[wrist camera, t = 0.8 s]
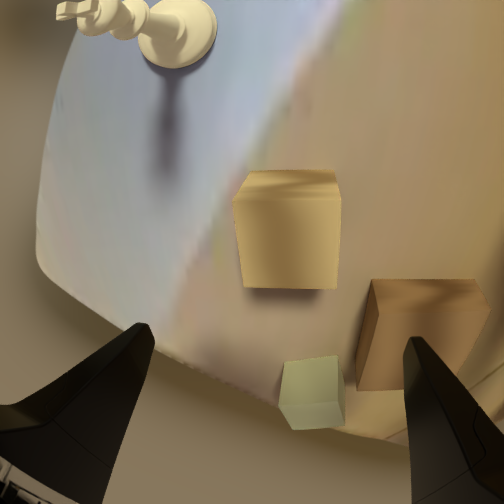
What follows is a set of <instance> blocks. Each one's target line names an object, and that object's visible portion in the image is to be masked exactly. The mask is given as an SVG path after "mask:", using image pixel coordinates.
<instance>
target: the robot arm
mask: <svg viewBox="0 0 504 504" xmlns="http://www.w3.org/2000/svg"><path fill="white" fill-rule="evenodd" d="M154 345H155V339H154V336H153V334H152V332H151V329H150V327H149V325H148V324H146V323H140V322H138V323H136V324H134V325H133V326H131V327H130V328H128V329H127V330H126V331H124V332H123V333H121V334H120V335H118V336H117V337H116V338H114V339H113V340H112V341H110V342H109V343H107V344H106V345H104V346H103V347H101V348H100V349H99V350H97V351H96V352H94V353H93V354H91V355H90V356H89V357H87V358H86V359H84V360H83V361H82V362H80V363H79V364H77V365H76V366H75V367H73V368H72V369H70V370H69V371H68V372H66V373H65V374H63V375H62V376H60V377H59V378H58V379H56V380H55V381H53V382H52V383H50V384H48V385H47V386H45V387H44V388H42V389H40V390H39V391H37V392H35V393H33V394H32V395H30V396H28V397H26V398H25V399H23V400H21V401H19V402H17V403H15V404H11V405H0V504H75V503H76V502H77V503H79V504H102V501H103V498H104V495H105V492H106V489H107V486H108V483H109V480H110V476H111V473H112V469H113V467H114V464H115V461H116V458H117V455H118V452H119V449H120V446H121V444H122V440H123V438H124V435H125V432H126V429H127V427H128V424H129V421H130V418H131V416H132V413H133V410H134V408H135V405H136V402H137V400H138V397H139V394H140V392H141V389H142V386H143V384H144V381H145V378H146V375H147V371H148V367H149V364H150V360H151V356H152V353H153V349H154ZM403 376H404V401H405V409H406V418H407V427H408V437H409V449H410V464H411V488H412V489H411V490H412V504H504V434H502V432H501V431H500V430H499V429H498V428H497V427H496V425H495V424H494V423H493V422H492V421H491V420H490V418H489V417H488V416H487V415H486V413H485V412H484V411H483V409H482V408H481V407H480V406H478V403H477V402H476V401H475V399H474V398H473V397H472V396H471V394H470V393H469V392H468V391H467V389H466V388H465V387H464V386H463V384H462V383H461V382H460V381H459V379H458V378H457V377H456V376H455V375H454V373H453V372H452V371H451V370H450V369H449V367H448V366H447V365H446V364H445V363H444V361H443V360H442V359H441V358H440V357H439V356H438V354H437V353H436V352H435V351H434V350H433V349H432V347H431V346H430V345H429V344H428V343H427V342H426V341H425V339H424V338H423V337H421V336H411V337H410V338H409V339H408V342H407V344H406V347H405V350H404V352H403Z"/></svg>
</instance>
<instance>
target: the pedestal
mask: <svg viewBox="0 0 504 504" xmlns="http://www.w3.org/2000/svg"><path fill="white" fill-rule="evenodd" d="M490 312H491V308H490V306H489V304H488V302H487V300H486V299H485V297H484V295H483V293H482V292H481V290H480V288H479V286H478V285H477V283H476V281H475V280H474V279H372V280H371V286H370V292H369V297H368V302H367V307H366V312H365V317H364V321H363V326H362V331H361V335H360V339H359V343H358V348H357V352H356V356H355V368H356V386H357V391H383V390H402V389H404V376H403V352H404V350H405V347H406V344H407V342H408V339H409V338H410V337H411V336H421V337H423V338H424V339H425V341H426V342H427V343H428V344H429V345H430V346H431V347H432V349H433V350H434V351H435V352H436V353H437V354H438V356H439V357H440V358H441V359H442V360H443V361H444V363H445V364H446V365H447V366H448V367H449V369H450V370H451V371H452V372H453V373H454V375H455V376H456V375H457V373H458V372H459V370H460V368H461V367H462V365H463V363H464V362H465V360H466V358H467V357H468V355H469V353H470V351H471V350H472V348H473V346H474V344H475V342H476V340H477V339H478V337H479V335H480V333H481V331H482V329H483V327H484V325H485V323H486V321H487V319H488V317H489V315H490Z"/></svg>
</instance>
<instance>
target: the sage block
mask: <svg viewBox="0 0 504 504" xmlns="http://www.w3.org/2000/svg"><path fill="white" fill-rule="evenodd" d="M278 407H279V409H280V410H281V412H282V413H283V415H284V417H285V418H286V420H287V421H288V423H289V425H290V426H291V428H292V429H293V430H303V429H317V428H328V427H338V426H345V383H344V379H343V374H342V370H341V366H340V362H339V359H338V355H333V356H327V357H320V358H313V359H305V360H297V361H289V362H284V369H283V376H282V383H281V390H280V397H279V403H278Z"/></svg>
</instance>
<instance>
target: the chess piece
mask: <svg viewBox="0 0 504 504" xmlns="http://www.w3.org/2000/svg"><path fill="white" fill-rule="evenodd" d="M56 15H57V17H56V20H63V21H64V20H67V19H70V18H74V17H77V25H78V28H79V30H80V32H81V33H83V34H84V35H86V36H97V35H101V34H103V33H106V32H108V31H110V33H111V34H112V35H113V36H114V37H115V38H117V39H119V40H129V39H132V38H134V37H136V36H138V42H139V47H140V49H141V51H142V53H143V55H144V56H145V57H146V58H147V59H148V60H149V61H151V62H152V63H154V64H156V65H159V66H161V67H165V68H182V67H185V66H188V65H191V64H193V63H195V62H196V61H198V60H199V59H200V58H202V57H203V56H204V55H205V54H206V53H207V52H208V50H209V49H210V47H211V46H212V44H213V42H214V40H215V37H216V32H217V21H216V17H215V14H214V12H213V11H212V9H211V8H210V7H209V6H208V5H207V4H206V3H205V2H203V1H201V0H162V1H160V2H159V3H157V4H156V5H154V6H153V7H152V8H151V9H150V10H149V7H148V5H147V4H146V3H145V2H144V1H143V0H125V1H123V2H121V0H86V1H83V2H80V3H75V2H68V1H67V2H63V3H60V4H58V5H57V12H56Z"/></svg>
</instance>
